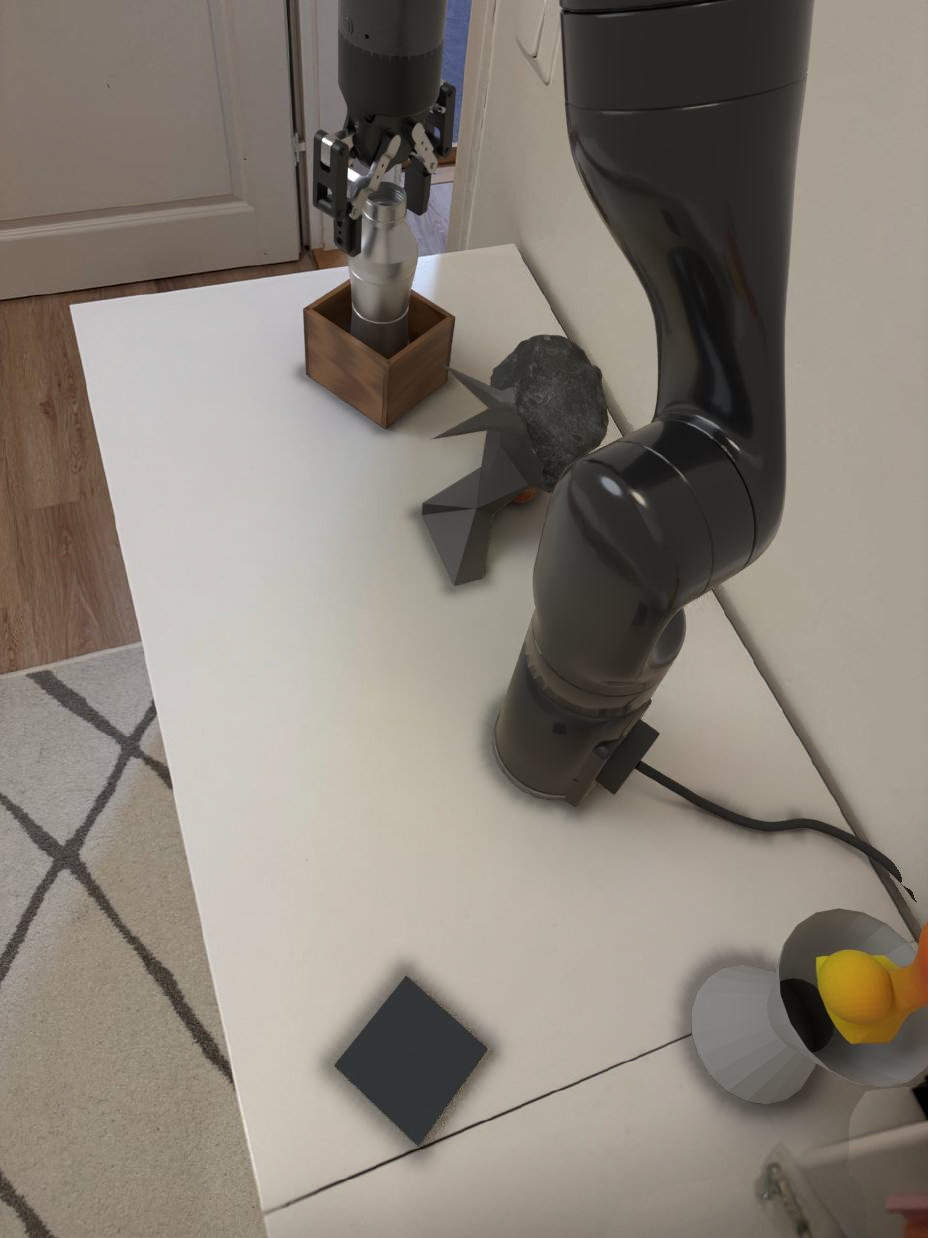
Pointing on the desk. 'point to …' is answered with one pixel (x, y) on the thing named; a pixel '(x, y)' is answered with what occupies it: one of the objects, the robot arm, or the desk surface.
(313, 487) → the desk surface
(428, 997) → the mat
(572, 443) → the grey spiky piece
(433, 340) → the crate
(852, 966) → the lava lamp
